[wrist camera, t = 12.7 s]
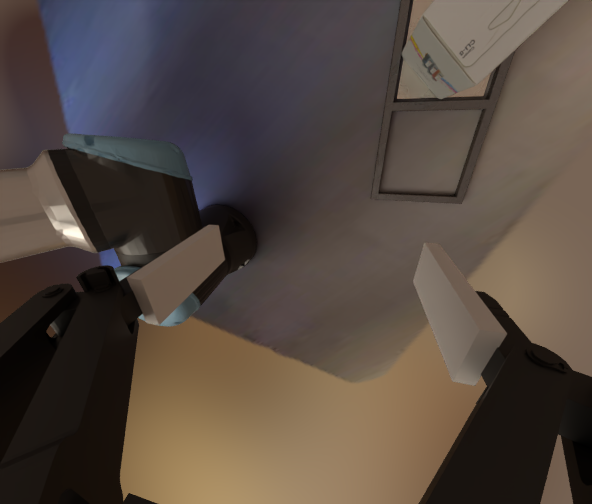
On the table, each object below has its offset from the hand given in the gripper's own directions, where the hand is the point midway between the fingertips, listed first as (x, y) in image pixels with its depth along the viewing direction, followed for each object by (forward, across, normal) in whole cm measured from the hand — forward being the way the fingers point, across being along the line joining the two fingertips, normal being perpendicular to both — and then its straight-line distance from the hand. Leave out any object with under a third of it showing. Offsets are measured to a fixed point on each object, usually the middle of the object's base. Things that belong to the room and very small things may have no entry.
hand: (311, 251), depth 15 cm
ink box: (+29, +13, +16) cm, 35 cm away
